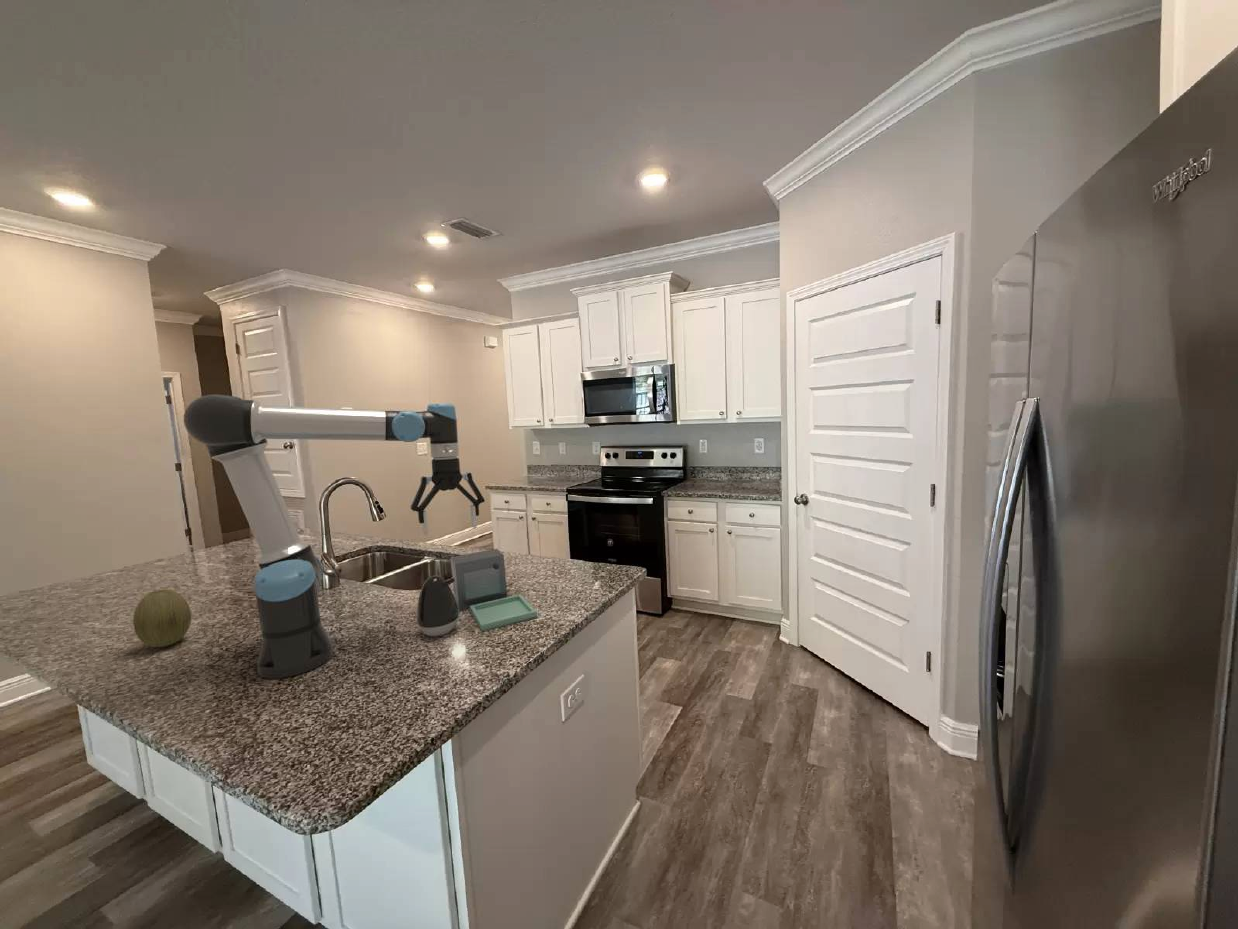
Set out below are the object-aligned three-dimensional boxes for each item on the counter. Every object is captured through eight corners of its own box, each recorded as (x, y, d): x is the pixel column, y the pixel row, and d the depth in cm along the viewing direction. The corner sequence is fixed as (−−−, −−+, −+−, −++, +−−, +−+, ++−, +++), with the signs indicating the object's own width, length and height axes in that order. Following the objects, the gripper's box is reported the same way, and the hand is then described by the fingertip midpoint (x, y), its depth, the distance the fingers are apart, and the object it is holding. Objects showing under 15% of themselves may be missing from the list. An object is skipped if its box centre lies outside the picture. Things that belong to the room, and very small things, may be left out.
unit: (459, 611, 143) (455, 564, 141) (454, 601, 150) (450, 557, 149) (507, 600, 149) (504, 555, 147) (500, 591, 157) (496, 548, 155)
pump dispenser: (452, 640, 125) (446, 582, 123) (411, 642, 125) (405, 584, 123) (465, 622, 135) (460, 568, 133) (428, 624, 135) (422, 570, 134)
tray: (482, 631, 129) (481, 625, 129) (470, 612, 142) (469, 606, 142) (537, 617, 136) (536, 611, 136) (521, 599, 149) (520, 594, 149)
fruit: (202, 639, 134) (193, 586, 132) (147, 659, 124) (137, 601, 122) (185, 631, 139) (176, 580, 138) (131, 649, 130) (121, 594, 128)
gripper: (399, 462, 133) (406, 540, 135) (492, 455, 145) (496, 526, 148) (396, 460, 139) (402, 534, 142) (485, 453, 152) (489, 522, 154)
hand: (450, 530), depth 145 cm, fingers open, 13 cm apart
